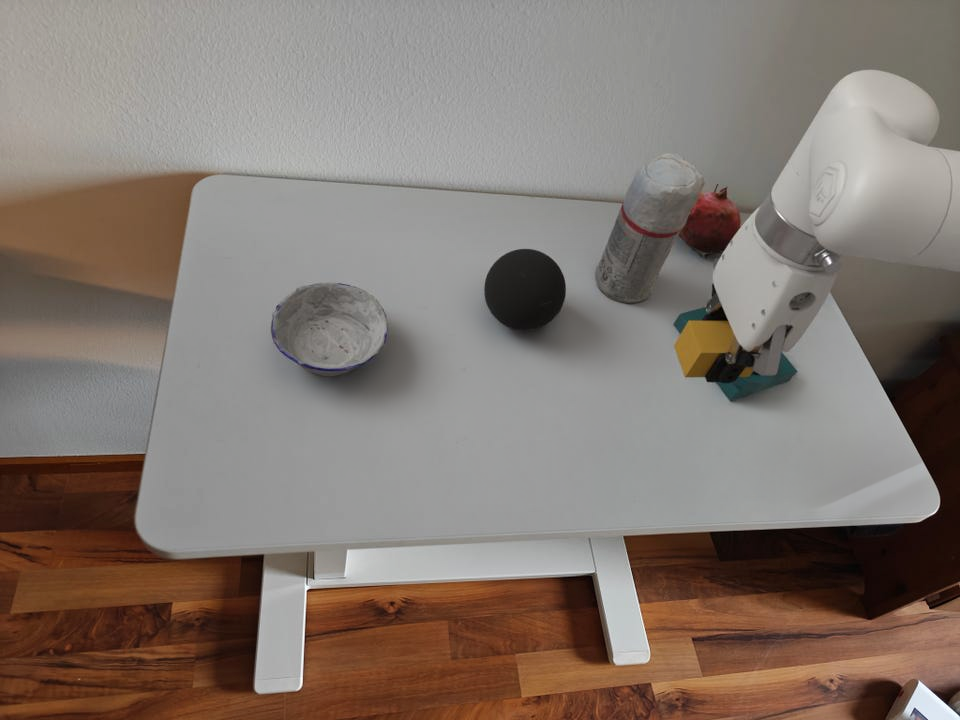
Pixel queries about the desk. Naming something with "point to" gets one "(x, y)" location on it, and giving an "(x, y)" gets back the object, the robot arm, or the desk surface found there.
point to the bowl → (329, 328)
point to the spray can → (648, 227)
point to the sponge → (704, 346)
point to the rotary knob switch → (742, 384)
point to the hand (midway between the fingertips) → (712, 359)
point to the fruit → (711, 223)
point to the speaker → (525, 289)
